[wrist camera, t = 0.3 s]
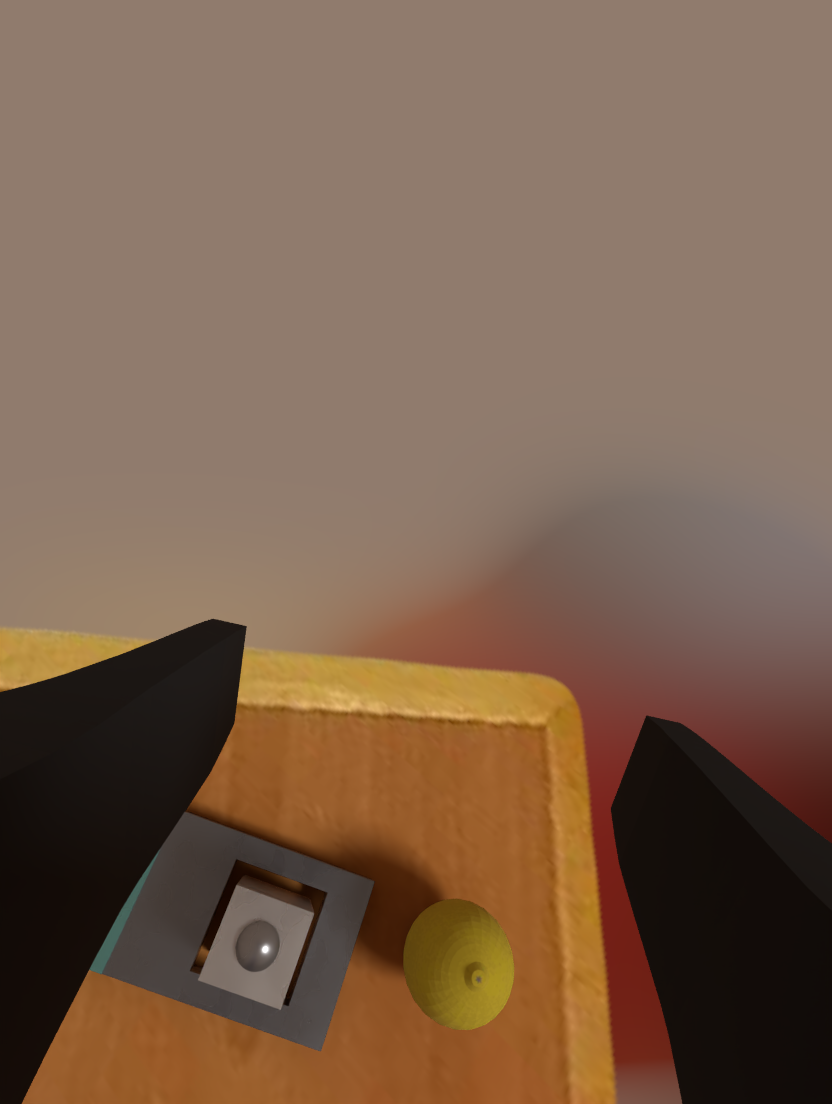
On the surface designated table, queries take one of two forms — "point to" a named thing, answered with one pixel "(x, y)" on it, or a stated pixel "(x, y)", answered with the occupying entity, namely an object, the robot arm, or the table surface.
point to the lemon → (458, 964)
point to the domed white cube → (259, 942)
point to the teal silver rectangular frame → (188, 909)
